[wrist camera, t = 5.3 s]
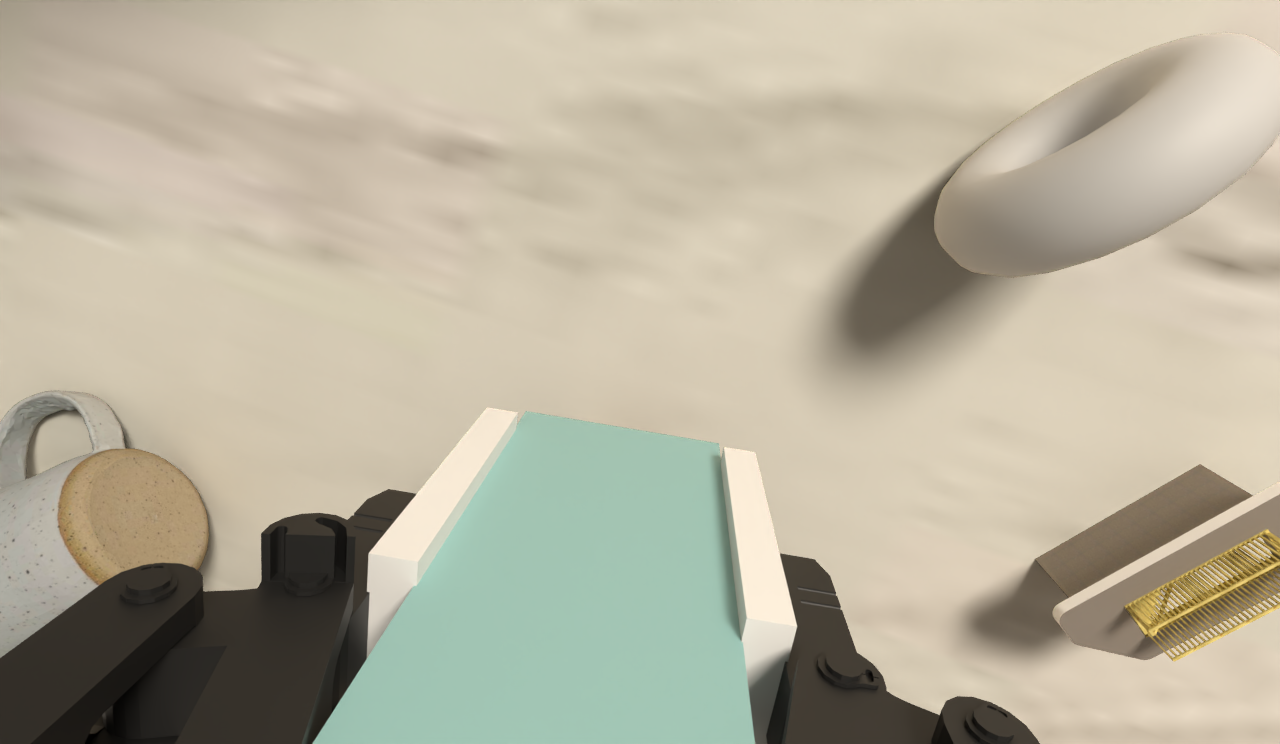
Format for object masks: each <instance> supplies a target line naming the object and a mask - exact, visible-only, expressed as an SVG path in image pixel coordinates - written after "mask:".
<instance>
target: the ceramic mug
mask: <svg viewBox="0 0 1280 744" xmlns="http://www.w3.org/2000/svg"><path fill="white" fill-rule="evenodd" d="M63 409H66V410H76V409H77V410H78V411H79V413H80V414H81V415H82V417H83V419H84V422H85V424H86V426H87V428H88V431H89V437H90V440H91V443H92V448H93V451H92V452H91V453H89V454H87V455H83V456H80V457H77V458H74V459H71V460H69V461H66V462H63V463H61V464H59V465H57V466H55V467H53V468H51V469H49V470H47V471H45V472H42V473H40V474H38V475H35V476H33V477H31V478H28V479H27V477H26V471H27V470H26V460H27V452H28V447H29V443H30V440H31V437H32V434H33V432H34V430H35V428H36V425H37V424H38V423H39V421H41V420H42V419H43V418H44V417H45V416H47V415H50V414H52V413H55V412H58V411H60V410H63ZM125 447H126V446H125V443H124V435H123V431H122V427H121V425H120V423H119V422H118V420H117V419H116V417H115V415H114V413H113V412H112V411H111V408H110V407H109V406H108V405H107V404H106V403H105V402H104V401H102V400H101V399H99V398H98V397H96V396H93V395H90V394H87V393H80V392H68V391H46V392H41V393H38V394H35V395H32V396H30V397H27V398H25V399H23V400H22V401H20V402H18V403H17V404H15V405H14V406H13V407H12V408H11V409H10V410H9V411H8V412H7V413H6V415H5V416H4V417H3V419H2V420H1V422H0V658H1V657H2V656H4V655H5V654H6V653H8V652H9V651H10V650H12V649H13V648H15V647H16V646H17V645H19V644H20V643H21V642H23V641H24V640H25V639H27V638H28V637H30V636H31V635H32V634H34V633H35V632H36V631H38V630H39V629H40V628H42V627H43V626H45V625H46V624H47V623H49V622H50V621H51V620H53V619H54V618H55V617H57V616H58V615H60V614H61V613H62V612H64V611H65V610H66V609H68V608H69V607H70V606H72V605H73V604H75V603H76V602H77V601H79V600H80V599H81V598H83V597H84V596H85V595H87V594H88V593H89V592H91V591H92V590H94V589H95V588H96V587H98V586H99V585H100V584H102V583H103V582H104V581H106V580H108V579H110V578H112V577H113V576H115V575H117V574H119V573H121V572H123V571H126V570H129V569H132V568H135V567H139V566H142V565H146V564H154V563H181V564H184V565H187V566H190V567H193V568H195V569H196V570H198V569H199V567H200V566H201V564H202V561H203V559H204V556H205V554H206V551H207V547H208V539H209V530H208V518H207V514H206V510H205V507H204V505H203V503H202V500H201V498H200V496H199V493H198V492H197V490H196V489H195V487H194V486H193V484H192V483H191V482H190V480H189V479H188V478H187V477H186V476H185V475H184V474H183V473H182V472H181V471H180V470H179V469H177V468H176V467H175V466H173V465H172V464H171V463H169V462H168V461H166V460H165V459H163V458H161V457H159V456H157V455H155V454H152V453H149V452H146V451H142V450H138V449H126V448H125Z"/></svg>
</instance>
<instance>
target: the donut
mask: <svg viewBox="0 0 1280 744" xmlns="http://www.w3.org/2000/svg"><path fill="white" fill-rule="evenodd" d="M1279 134H1280V55H1279V53H1277V52H1276V51H1274V50H1273V49H1271V48H1270V47H1269V46H1267V45H1266V44H1264V43H1262V42H1260V41H1258V40H1256V39H1254V38H1253V37H1251V36H1249V35H1246V34H1237V33H1228V32H1224V33H1212V34H1200V35H1195V36H1190V37H1185V38H1181V39H1177V40H1174V41H1171V42H1167V43H1164V44H1161V45H1157V46H1154V47H1151V48H1149V49H1146V50H1144V51H1141V52H1139V53H1137V54H1134V55H1132V56H1130V57H1127V58H1125V59H1122V60H1120V61H1118V62H1115V63H1113V64H1111V65H1109V66H1107V67H1105V68H1103V69H1101V70H1099V71H1098V72H1096V73H1094V74H1092V75H1090V76H1088V77H1086V78H1084V79H1082V80H1080V81H1078V82H1076V83H1074V84H1073V85H1071V86H1069V87H1067V88H1066V89H1064V90H1062V91H1061V92H1059V93H1057V94H1055V95H1054V96H1052V97H1050V98H1049V99H1047V100H1045V101H1043V102H1042V103H1040V104H1039V105H1037V106H1036V107H1034V108H1033V109H1031V110H1030V111H1028V112H1027V113H1025V114H1024V115H1022V116H1021V117H1019V118H1018V119H1016V120H1015V121H1013V122H1012V123H1010V124H1009V125H1007V126H1006V127H1005V128H1003V129H1002V130H1001V131H1000V132H998V133H997V134H996V135H994V136H993V137H992V138H990V139H989V140H988V141H986V142H985V143H984V144H983V145H981V146H980V147H979V148H978V149H977V150H976V151H975V152H974V153H973V154H972V155H971V156H970V157H968V158H967V159H966V160H965V161H964V162H963V163H962V164H961V166H960V167H959V168H958V170H957V171H956V172H955V173H954V175H953V176H952V177H951V179H950V180H949V181H948V183H947V184H946V185H945V187H944V188H943V189H942V191H941V194H940V197H939V200H938V204H937V208H936V212H935V216H934V231H935V234H936V237H937V239H938V241H939V244H940V245H941V246H942V248H943V249H944V250H945V251H946V252H947V253H948V254H949V255H950V256H951V257H952V258H953V259H954V260H955V261H956V262H957V263H958V265H959V266H961V267H963V268H965V269H967V270H969V271H971V272H973V273H980V274H987V275H995V276H1002V277H1009V278H1014V277H1021V276H1029V275H1036V274H1043V273H1049V272H1053V271H1057V270H1061V269H1064V268H1067V267H1071V266H1074V265H1077V264H1081V263H1084V262H1088V261H1091V260H1094V259H1098V258H1101V257H1103V256H1106V255H1108V254H1110V253H1113V252H1115V251H1117V250H1120V249H1122V248H1124V247H1127V246H1129V245H1131V244H1134V243H1136V242H1138V241H1141V240H1143V239H1145V238H1148V237H1150V236H1151V235H1153V234H1155V233H1157V232H1159V231H1160V230H1162V229H1164V228H1166V227H1168V226H1169V225H1171V224H1173V223H1175V222H1177V221H1178V220H1180V219H1182V218H1184V217H1185V216H1187V215H1189V214H1191V213H1193V212H1194V211H1196V210H1197V209H1199V208H1200V207H1202V206H1203V205H1204V204H1206V203H1207V202H1209V201H1210V200H1211V199H1213V198H1214V197H1215V196H1217V195H1218V194H1219V193H1221V192H1222V191H1224V190H1225V189H1226V188H1228V187H1229V186H1230V185H1232V184H1233V183H1234V182H1236V181H1237V180H1238V179H1240V178H1241V177H1243V176H1244V175H1245V174H1246V173H1247V172H1248V171H1249V170H1250V169H1251V168H1252V167H1253V166H1254V164H1255V163H1256V162H1257V161H1258V160H1259V159H1260V158H1261V157H1262V156H1263V155H1264V153H1265V152H1266V151H1267V150H1268V149H1269V148H1270V147H1271V146H1272V144H1273V143H1274V141H1275V140H1276V139H1277V137H1278V136H1279Z"/></svg>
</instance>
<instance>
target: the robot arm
mask: <svg viewBox="0 0 1280 744" xmlns="http://www.w3.org/2000/svg"><path fill="white" fill-rule="evenodd" d="M517 418H518V412H512V411H506V410H500V409H494V408H488V407H487V408H486V409H485V411H484V412H483V413H482V414H481V415H480V417H479V418H478V419H477V420H476V422H475V423H474V424H473V425H472V427H471V428H470V429H469V430H468V432H467V433H466V434H465V435H464V436H463V438H462V439H461V440H460V441H459V443H458V444H457V445H456V446H455V448H454V449H453V450H452V451H451V452H450V454H449V455H448V456H447V457H446V459H445V460H444V461H443V462H442V464H441V465H440V466H439V467H438V468H437V470H436V471H435V472H434V473H433V475H432V476H431V477H430V478H429V480H428V481H427V482H426V483H425V484H424V486H423V487H422V488H421V489H420V491H419V492H418V493H417V494H414V493H408V492H402V491H396V490H390V489H388V490H386V491H384V492H382V493H380V494H378V495H375V496H373V497H371V498H369V499H367V500H366V501H365V502H364V503H363V505H362V506H361V507H360V508H359V509H358V510H357V511H356V512H355V513H354V516H351V517H350V518H349V519H348V520H346V519H344V518H341V517H339V516H336V515H330V514H323V513H311V514H299V515H295V516H291V517H287V518H284V519H281V520H279V521H277V522H275V523H273V524H271V525H270V526H269V527H268V528H267V529H265V530H264V531H263V532H262V533H261V564H262V581H261V583H260V585H259V587H258V588H257V589H248V590H235V591H208V592H203V578H202V575H201V574H200V573H199V572H198V571H197V570H196V569H195V568H193V567H190V566H187V565H184V564H181V563H154V564H146V565H142V566H139V567H135V568H132V569H129V570H126V571H123V572H121V573H119V574H117V575H115V576H113V577H112V578H110V579H108V580H106V581H104V582H103V583H102V584H100V585H99V586H98V587H96V588H95V589H94V590H92V591H91V592H89V593H88V594H87V595H85V596H84V597H83V598H81V599H80V600H79V601H77V602H76V603H75V604H73V605H72V606H70V607H69V608H68V609H66V610H65V611H64V612H62V613H61V614H60V615H58V616H57V617H55V618H54V619H53V620H51V621H50V622H49V623H47V624H46V625H45V626H43V627H42V628H40V629H39V630H38V631H36V632H35V633H34V634H32V635H31V636H30V637H28V638H27V639H25V640H24V641H23V642H21V643H20V644H19V645H17V646H16V647H15V648H13V649H12V650H10V651H9V652H8V653H6V654H5V655H4V656H2V657H1V658H0V744H313V742H314V740H315V739H316V737H317V736H318V734H319V733H320V731H321V730H322V728H323V726H324V725H325V723H326V722H327V720H328V719H329V717H330V716H331V714H332V712H333V711H334V709H335V708H336V706H337V705H338V703H339V702H340V700H341V698H342V697H343V695H344V694H345V692H346V691H347V689H348V688H349V686H350V684H351V683H352V681H353V680H354V678H355V677H356V675H357V674H358V672H359V670H360V669H361V667H362V666H363V664H364V663H365V661H366V660H367V658H368V656H369V655H370V653H371V652H372V650H373V649H374V647H375V645H376V644H377V642H378V641H379V639H380V638H381V636H382V635H383V633H384V631H385V630H386V628H387V627H388V625H389V624H390V622H391V621H392V619H393V617H394V616H395V614H396V613H397V611H398V610H399V608H400V607H401V605H402V603H403V602H404V600H405V599H406V597H407V596H408V594H409V593H410V591H411V589H412V588H413V586H417V584H418V583H419V581H420V580H421V578H422V576H423V575H424V573H425V572H426V570H427V569H428V567H429V565H430V564H431V562H432V561H433V559H434V558H435V556H436V554H437V553H438V551H439V550H440V548H441V547H442V545H443V543H444V542H445V540H446V539H447V537H448V536H449V534H450V532H451V531H452V529H453V528H454V526H455V525H456V523H457V521H458V520H459V518H460V517H461V515H462V514H463V512H464V510H465V509H466V507H467V506H468V504H469V503H470V501H471V499H472V498H473V496H474V495H475V493H476V492H477V490H478V488H479V487H480V485H481V484H482V482H483V481H484V479H485V477H486V476H487V474H488V473H489V471H490V470H491V468H492V466H493V465H494V463H495V462H496V460H497V459H498V457H499V455H500V454H501V452H502V451H503V449H504V448H505V446H506V444H507V443H508V441H509V440H510V438H511V437H512V435H513V433H514V432H515V430H516V428H517ZM721 471H722V480H723V489H724V497H725V506H726V514H727V523H728V532H729V540H730V549H731V558H732V566H733V575H734V583H735V592H736V601H737V609H738V618H739V626H740V635H741V642H743V647H744V656H745V664H746V672H747V681H748V689H749V697H750V705H751V714H752V722H753V730H754V739H755V744H1040V743H1039V742H1038V740H1037V739H1036V737H1035V736H1034V735H1033V734H1032V732H1031V731H1030V730H1029V729H1028V728H1027V726H1026V725H1025V724H1024V723H1022V722H1021V721H1020V720H1018V719H1017V718H1016V717H1015V716H1013V715H1012V714H1011V713H1010V712H1008V711H1006V710H1004V709H1003V708H1001V707H998V706H997V705H995V704H993V703H991V702H988V701H984V700H981V699H978V698H974V697H958V696H957V697H955V698H952V699H950V700H947V701H946V703H945V705H944V707H943V708H942V711H941V714H940V715H937V714H935V713H932V712H930V711H927V710H925V709H922V708H920V707H917V706H915V705H912V704H910V703H908V702H905V701H903V700H901V699H899V698H897V697H895V696H893V695H892V694H890V693H889V692H887V691H886V685H885V682H884V679H883V676H882V675H881V673H880V672H879V671H878V670H877V668H876V667H875V666H874V665H873V664H872V663H871V662H869V661H868V660H867V659H865V658H864V657H863V656H861V655H860V654H858V653H857V652H856V649H855V646H854V643H853V640H852V638H851V635H850V632H849V629H848V626H847V623H846V620H845V618H844V615H843V612H842V610H840V607H841V606H840V603H839V600H838V598H837V596H836V592H835V589H834V586H833V583H832V580H831V578H830V575H829V574H828V573H827V572H826V571H825V570H824V569H823V568H822V567H821V566H820V565H819V564H818V563H817V562H816V561H815V559H809V558H803V557H797V556H791V555H785V554H780V553H779V549H778V545H777V541H776V536H775V532H774V528H773V524H772V520H771V516H770V511H769V507H768V503H767V499H766V495H765V491H764V486H763V482H762V478H761V474H760V470H759V466H758V462H757V457H756V453H755V452H751V451H745V450H739V449H733V448H727V447H724V449H723V454H722V458H721Z"/></svg>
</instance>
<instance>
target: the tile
mask: <svg viewBox="0 0 1280 744" xmlns="http://www.w3.org/2000/svg"><path fill="white" fill-rule="evenodd" d="M313 744H755V739H754V730H753V722H752V714H751V705H750V697H749V689H748V681H747V672H746V664H745V656H744V647H743V642H741V635H740V626H739V618H738V609H737V601H736V592H735V583H734V575H733V566H732V558H731V549H730V540H729V532H728V523H727V514H726V506H725V497H724V489H723V480H722V471H721V457H720V449H719V444H718V443H712V442H707V441H701V440H695V439H689V438H683V437H677V436H671V435H665V434H659V433H653V432H647V431H641V430H635V429H629V428H623V427H617V426H611V425H605V424H599V423H593V422H587V421H581V420H575V419H569V418H563V417H557V416H551V415H545V414H539V413H533V412H527V411H526V412H525V414H524V415H523V417H522V418H521V420H520V421H519V423H518V424H517V428H516V430H515V432H514V433H513V435H512V437H511V438H510V440H509V441H508V443H507V444H506V446H505V448H504V449H503V451H502V452H501V454H500V455H499V457H498V459H497V460H496V462H495V463H494V465H493V466H492V468H491V470H490V471H489V473H488V474H487V476H486V477H485V479H484V481H483V482H482V484H481V485H480V487H479V488H478V490H477V492H476V493H475V495H474V496H473V498H472V499H471V501H470V503H469V504H468V506H467V507H466V509H465V510H464V512H463V514H462V515H461V517H460V518H459V520H458V521H457V523H456V525H455V526H454V528H453V529H452V531H451V532H450V534H449V536H448V537H447V539H446V540H445V542H444V543H443V545H442V547H441V548H440V550H439V551H438V553H437V554H436V556H435V558H434V559H433V561H432V562H431V564H430V565H429V567H428V569H427V570H426V572H425V573H424V575H423V576H422V578H421V580H420V581H419V583H418V584H417V586H413V588H412V589H411V591H410V593H409V594H408V596H407V597H406V599H405V600H404V602H403V603H402V605H401V607H400V608H399V610H398V611H397V613H396V614H395V616H394V617H393V619H392V621H391V622H390V624H389V625H388V627H387V628H386V630H385V631H384V633H383V635H382V636H381V638H380V639H379V641H378V642H377V644H376V645H375V647H374V649H373V650H372V652H371V653H370V655H369V656H368V658H367V660H366V661H365V663H364V664H363V666H362V667H361V669H360V670H359V672H358V674H357V675H356V677H355V678H354V680H353V681H352V683H351V684H350V686H349V688H348V689H347V691H346V692H345V694H344V695H343V697H342V698H341V700H340V702H339V703H338V705H337V706H336V708H335V709H334V711H333V712H332V714H331V716H330V717H329V719H328V720H327V722H326V723H325V725H324V726H323V728H322V730H321V731H320V733H319V734H318V736H317V737H316V739H315V740H314V742H313Z"/></svg>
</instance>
